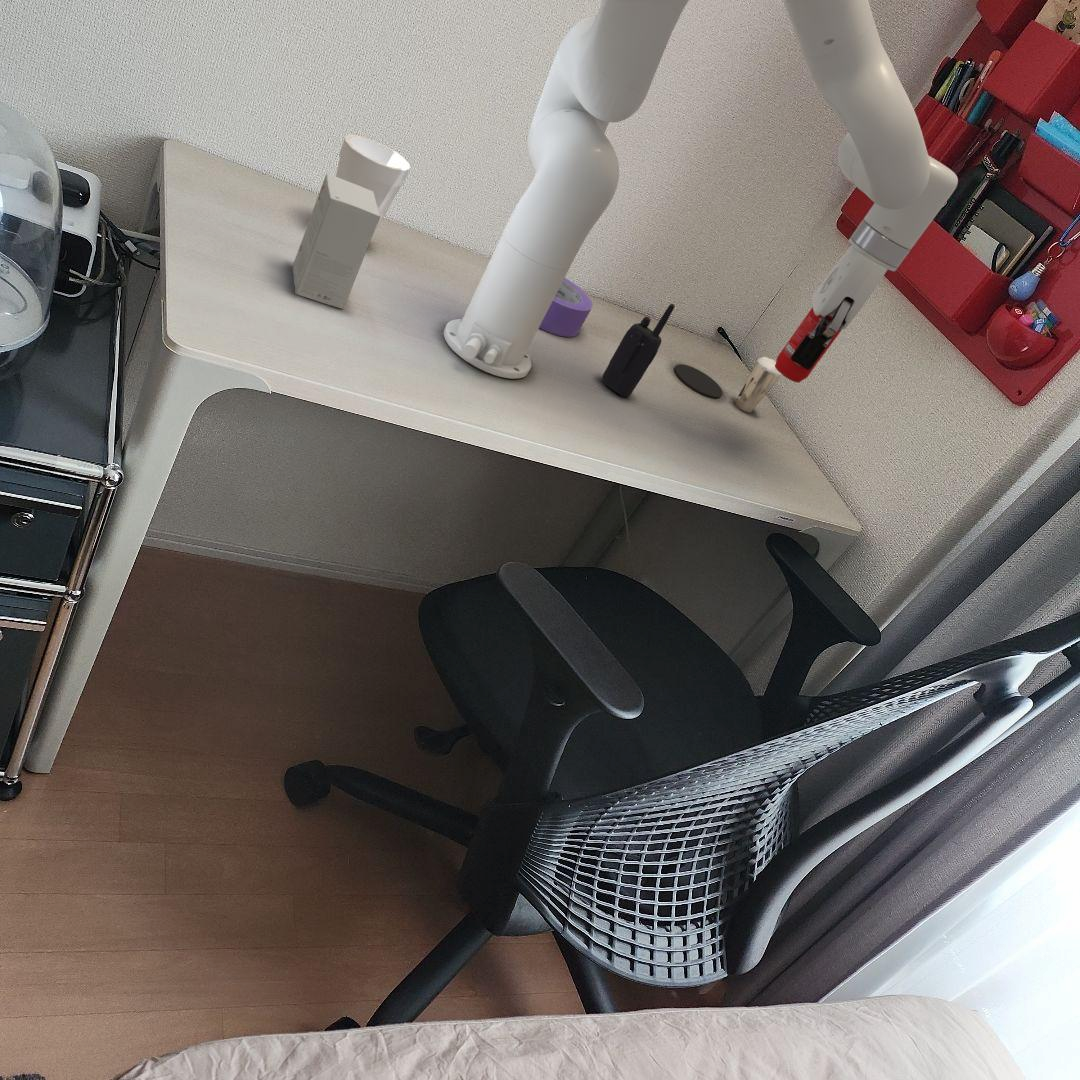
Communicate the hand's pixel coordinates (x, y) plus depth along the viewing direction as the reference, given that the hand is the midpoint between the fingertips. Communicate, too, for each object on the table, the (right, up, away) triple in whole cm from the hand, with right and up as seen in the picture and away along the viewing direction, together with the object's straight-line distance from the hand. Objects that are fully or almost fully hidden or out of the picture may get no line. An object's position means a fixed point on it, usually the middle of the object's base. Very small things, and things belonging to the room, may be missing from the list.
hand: (799, 356), depth 144 cm
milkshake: (-4, -5, +22) cm, 23 cm away
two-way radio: (-27, -4, +2) cm, 27 cm away
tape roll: (-37, +8, +12) cm, 40 cm away
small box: (-65, +5, -17) cm, 68 cm away
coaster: (-11, 0, +21) cm, 24 cm away
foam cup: (-65, +17, 0) cm, 67 cm away
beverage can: (-1, -2, +2) cm, 3 cm away
